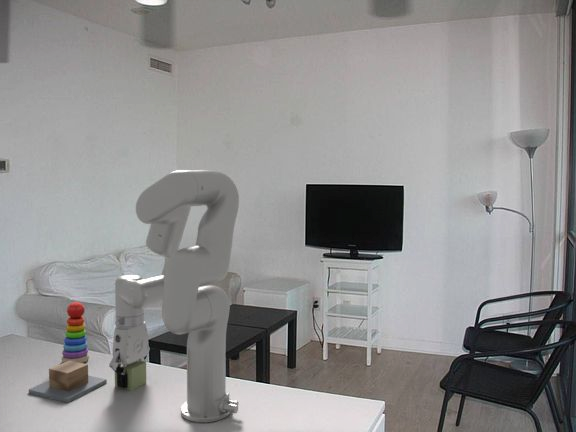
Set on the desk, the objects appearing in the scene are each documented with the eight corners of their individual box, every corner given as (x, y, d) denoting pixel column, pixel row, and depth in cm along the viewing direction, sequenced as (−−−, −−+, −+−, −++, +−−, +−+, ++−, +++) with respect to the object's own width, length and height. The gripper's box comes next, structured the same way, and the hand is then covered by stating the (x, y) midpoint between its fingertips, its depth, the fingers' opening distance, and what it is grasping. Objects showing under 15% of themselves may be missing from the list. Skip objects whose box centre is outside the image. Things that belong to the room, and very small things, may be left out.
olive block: (146, 382, 147) (146, 362, 146) (132, 390, 141) (131, 369, 141) (129, 378, 149) (129, 358, 149) (114, 386, 144) (114, 365, 143)
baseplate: (106, 382, 146) (106, 379, 146) (67, 402, 134) (67, 399, 133) (69, 374, 152) (69, 371, 152) (28, 393, 139) (28, 389, 139)
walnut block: (88, 381, 144) (88, 364, 144) (68, 391, 138) (67, 373, 138) (69, 377, 147) (69, 360, 147) (49, 386, 141) (48, 368, 141)
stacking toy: (70, 367, 157) (69, 307, 156) (56, 361, 162) (55, 302, 161) (94, 360, 164) (92, 302, 162) (80, 354, 168) (78, 298, 167)
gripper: (118, 330, 134) (119, 397, 136) (160, 314, 150) (160, 374, 152) (96, 326, 137) (97, 392, 139) (139, 310, 153) (140, 370, 155)
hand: (130, 382), depth 145 cm, fingers closed on olive block, 6 cm apart
